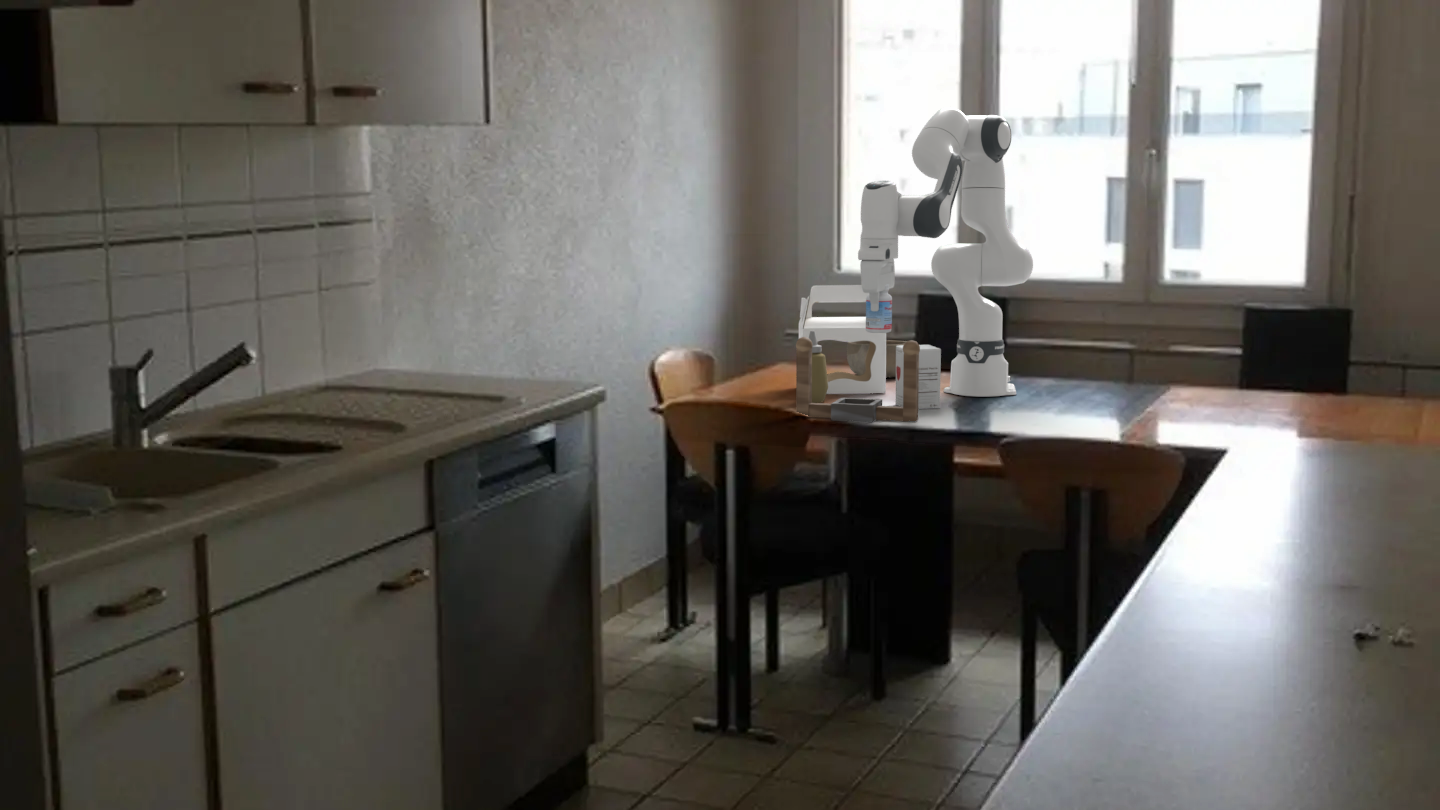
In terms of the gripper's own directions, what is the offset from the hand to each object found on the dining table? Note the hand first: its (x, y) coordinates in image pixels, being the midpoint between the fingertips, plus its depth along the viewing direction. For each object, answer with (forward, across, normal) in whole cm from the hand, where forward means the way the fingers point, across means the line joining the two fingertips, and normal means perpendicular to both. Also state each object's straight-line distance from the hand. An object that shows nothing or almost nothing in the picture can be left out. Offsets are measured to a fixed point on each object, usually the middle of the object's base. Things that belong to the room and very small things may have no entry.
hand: (878, 309), depth 400 cm
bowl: (+25, -72, -16) cm, 78 cm away
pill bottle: (+5, 0, 0) cm, 5 cm away
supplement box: (+26, -21, +5) cm, 34 cm away
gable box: (+25, -43, -19) cm, 54 cm away
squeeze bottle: (+26, -21, -22) cm, 40 cm away
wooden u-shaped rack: (+26, +1, -5) cm, 26 cm away
